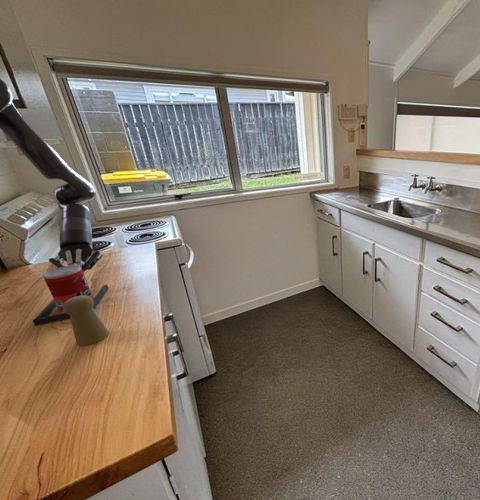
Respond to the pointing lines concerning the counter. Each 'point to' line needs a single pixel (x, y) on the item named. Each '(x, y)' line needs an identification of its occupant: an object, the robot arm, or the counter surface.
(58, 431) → the counter surface
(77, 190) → the robot arm
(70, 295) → the canned food
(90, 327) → the cork
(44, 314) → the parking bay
